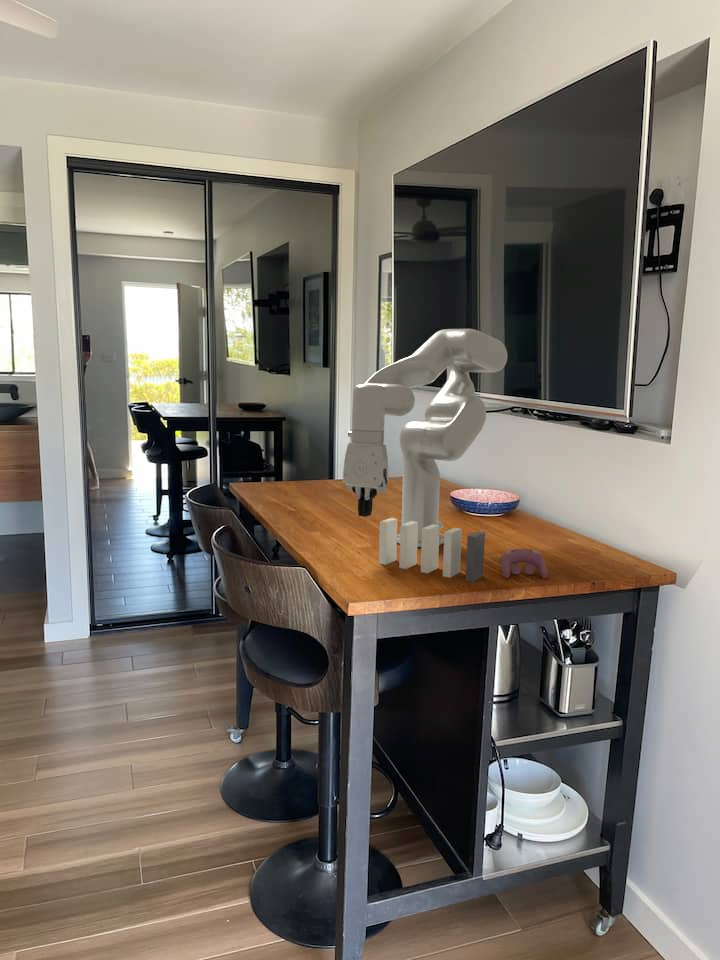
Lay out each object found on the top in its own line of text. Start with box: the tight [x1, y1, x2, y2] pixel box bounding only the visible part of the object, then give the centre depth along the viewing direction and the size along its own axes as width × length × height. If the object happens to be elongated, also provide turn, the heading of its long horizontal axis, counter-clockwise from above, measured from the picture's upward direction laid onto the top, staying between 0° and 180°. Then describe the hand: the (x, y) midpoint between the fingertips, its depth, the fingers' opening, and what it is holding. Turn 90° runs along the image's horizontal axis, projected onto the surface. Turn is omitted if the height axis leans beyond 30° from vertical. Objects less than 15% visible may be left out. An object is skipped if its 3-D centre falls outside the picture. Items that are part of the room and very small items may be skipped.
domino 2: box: [399, 521, 418, 570], centre depth 164 cm, size 2×5×10 cm, turn 147°
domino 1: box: [378, 517, 398, 566], centre depth 167 cm, size 2×5×10 cm, turn 147°
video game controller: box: [500, 548, 548, 579], centre depth 159 cm, size 10×5×7 cm, turn 93°
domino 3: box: [420, 524, 440, 574], centre depth 162 cm, size 2×5×10 cm, turn 147°
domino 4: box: [442, 527, 463, 578], centre depth 159 cm, size 2×5×10 cm, turn 147°
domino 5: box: [465, 530, 486, 583], centre depth 156 cm, size 2×5×10 cm, turn 146°
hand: (364, 515), depth 169 cm, fingers closed
